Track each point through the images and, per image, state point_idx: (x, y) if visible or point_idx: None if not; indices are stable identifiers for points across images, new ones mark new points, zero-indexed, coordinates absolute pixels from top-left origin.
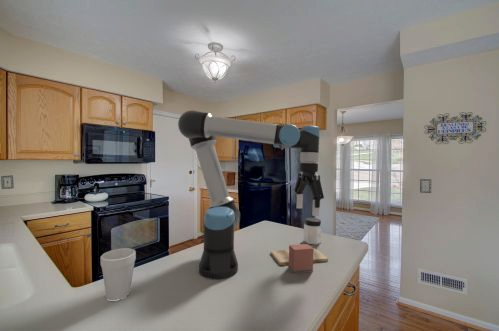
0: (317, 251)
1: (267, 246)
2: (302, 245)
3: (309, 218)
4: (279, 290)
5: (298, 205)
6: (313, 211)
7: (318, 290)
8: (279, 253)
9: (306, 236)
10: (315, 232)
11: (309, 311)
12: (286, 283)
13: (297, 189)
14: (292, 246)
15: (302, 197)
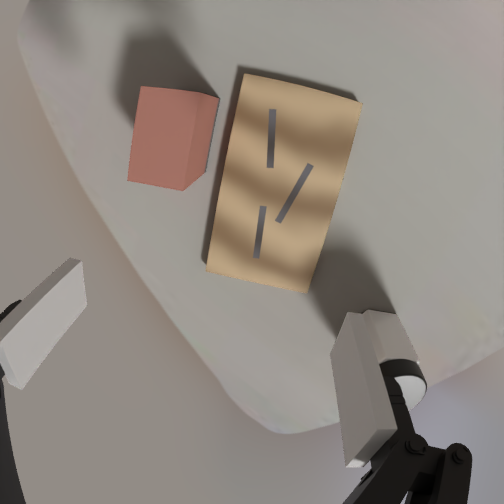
0: (272, 281)
1: (428, 141)
2: (173, 154)
3: (413, 396)
4: (112, 12)
5: (347, 341)
6: (50, 275)
7: (74, 112)
8: (324, 121)
9: (383, 325)
10: None
11: (34, 53)
12: (131, 41)
13: (407, 486)
14: (179, 99)
15: (343, 434)
